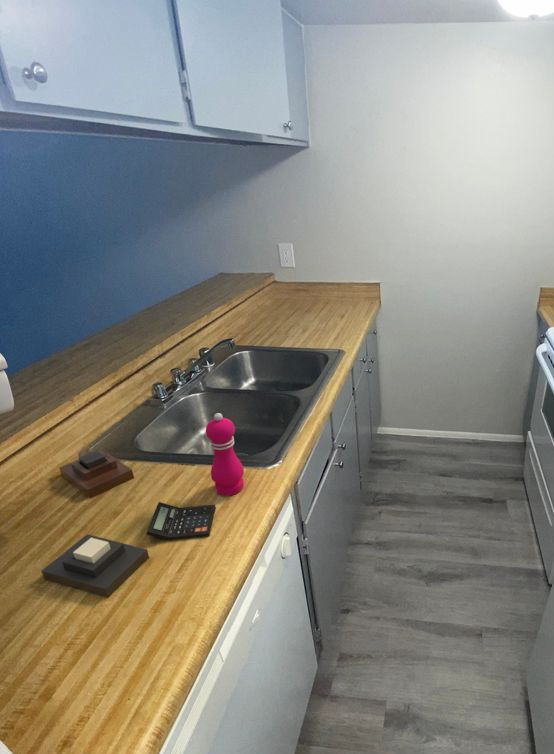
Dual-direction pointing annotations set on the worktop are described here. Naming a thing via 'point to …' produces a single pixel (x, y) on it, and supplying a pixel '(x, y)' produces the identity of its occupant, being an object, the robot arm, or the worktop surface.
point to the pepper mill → (224, 457)
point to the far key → (92, 459)
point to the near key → (91, 550)
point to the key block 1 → (97, 475)
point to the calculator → (181, 522)
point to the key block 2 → (96, 568)
